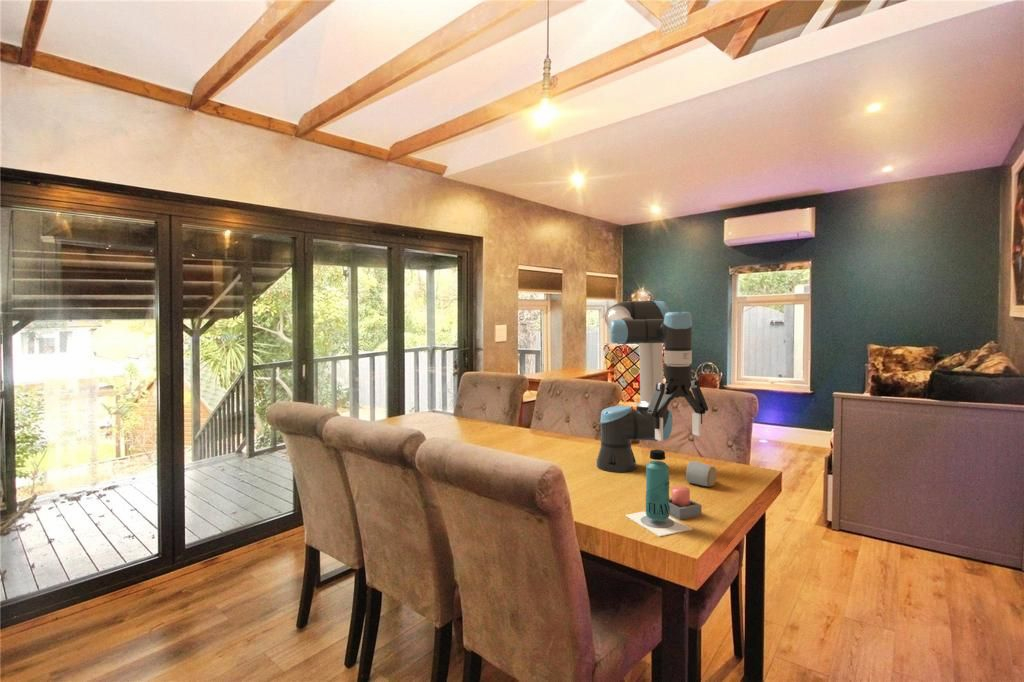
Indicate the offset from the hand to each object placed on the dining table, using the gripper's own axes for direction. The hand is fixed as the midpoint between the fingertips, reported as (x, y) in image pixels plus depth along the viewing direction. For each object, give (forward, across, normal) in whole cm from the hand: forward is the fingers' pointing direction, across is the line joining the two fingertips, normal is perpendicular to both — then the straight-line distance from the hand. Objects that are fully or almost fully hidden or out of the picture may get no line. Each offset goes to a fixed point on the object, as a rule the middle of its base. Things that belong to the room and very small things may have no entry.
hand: (678, 437), depth 139 cm
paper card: (+22, -10, -3) cm, 25 cm away
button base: (+22, +1, 0) cm, 22 cm away
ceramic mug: (+23, +25, +17) cm, 38 cm away
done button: (+20, +1, 0) cm, 20 cm away
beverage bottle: (+22, -10, -3) cm, 24 cm away
